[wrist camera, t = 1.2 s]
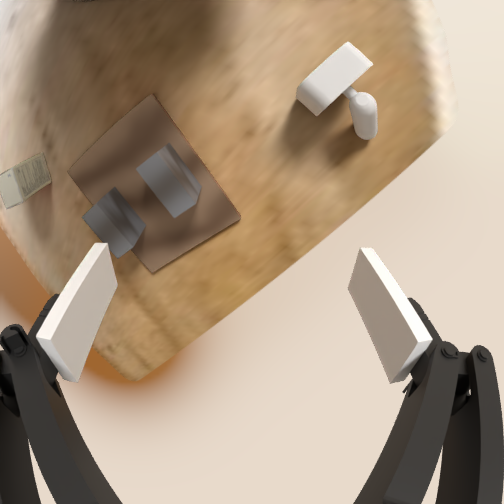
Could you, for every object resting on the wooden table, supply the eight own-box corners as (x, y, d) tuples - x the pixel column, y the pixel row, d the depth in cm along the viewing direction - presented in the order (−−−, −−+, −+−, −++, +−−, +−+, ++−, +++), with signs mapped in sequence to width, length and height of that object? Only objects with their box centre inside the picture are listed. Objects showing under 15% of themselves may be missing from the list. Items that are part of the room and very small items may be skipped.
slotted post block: (70, 169, 33) (44, 186, 27) (153, 93, 29) (134, 94, 23) (153, 269, 42) (142, 298, 36) (240, 215, 38) (242, 240, 32)
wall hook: (351, 156, 34) (373, 161, 25) (294, 101, 32) (297, 86, 23) (390, 118, 31) (422, 112, 22) (335, 62, 30) (350, 37, 20)
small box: (25, 160, 31) (-6, 177, 24) (43, 151, 31) (11, 167, 24) (34, 189, 33) (5, 210, 27) (52, 182, 33) (23, 202, 27)
